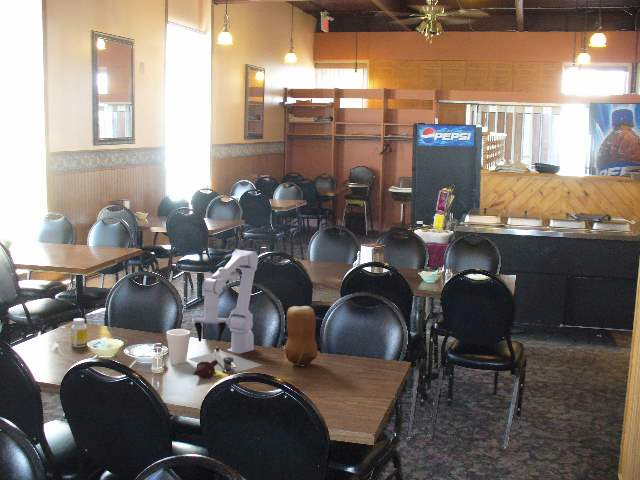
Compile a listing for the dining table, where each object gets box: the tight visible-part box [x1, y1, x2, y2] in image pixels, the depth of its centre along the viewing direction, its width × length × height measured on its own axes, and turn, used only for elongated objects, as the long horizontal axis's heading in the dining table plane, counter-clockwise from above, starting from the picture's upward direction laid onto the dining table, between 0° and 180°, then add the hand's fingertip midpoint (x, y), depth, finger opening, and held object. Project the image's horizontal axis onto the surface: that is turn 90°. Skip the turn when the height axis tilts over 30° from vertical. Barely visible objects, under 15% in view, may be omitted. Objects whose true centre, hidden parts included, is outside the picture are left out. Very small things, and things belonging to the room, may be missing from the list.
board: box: [188, 350, 263, 375], centre depth 320 cm, size 18×26×1 cm
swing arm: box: [213, 346, 234, 369], centre depth 315 cm, size 20×4×4 cm, turn 23°
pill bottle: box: [70, 317, 88, 348], centre depth 336 cm, size 6×6×12 cm
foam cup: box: [166, 328, 191, 366], centre depth 317 cm, size 10×9×13 cm
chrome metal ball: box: [221, 363, 235, 374], centre depth 308 cm, size 5×5×4 cm
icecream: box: [192, 360, 218, 379], centre depth 300 cm, size 7×7×15 cm
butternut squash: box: [284, 305, 319, 367], centre depth 320 cm, size 14×13×25 cm
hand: (209, 340), depth 316 cm, fingers open, 7 cm apart
